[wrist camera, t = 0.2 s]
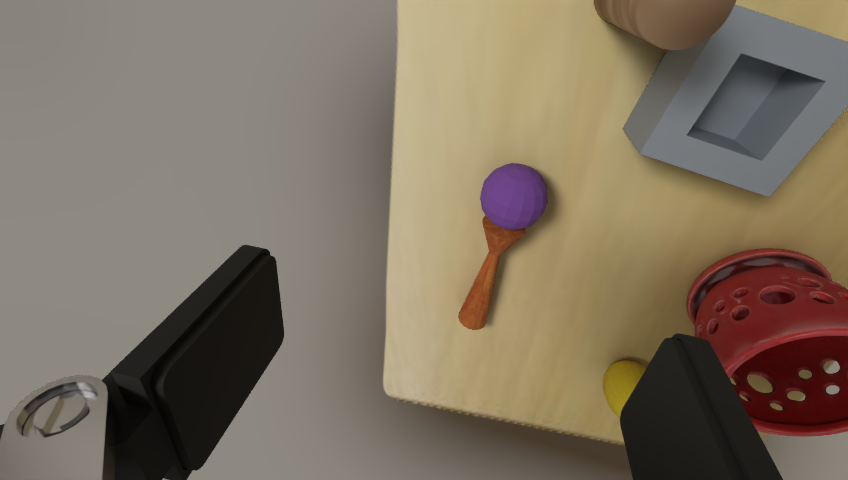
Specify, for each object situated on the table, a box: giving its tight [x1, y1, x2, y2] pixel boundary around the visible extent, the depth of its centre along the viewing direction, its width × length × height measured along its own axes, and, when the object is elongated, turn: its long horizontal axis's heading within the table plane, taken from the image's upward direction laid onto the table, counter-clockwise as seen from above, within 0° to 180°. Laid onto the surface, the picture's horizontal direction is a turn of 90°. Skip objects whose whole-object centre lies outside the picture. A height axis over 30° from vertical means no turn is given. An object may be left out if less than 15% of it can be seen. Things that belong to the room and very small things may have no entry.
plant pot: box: [687, 249, 848, 436], centre depth 36 cm, size 13×13×12 cm
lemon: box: [603, 360, 646, 418], centre depth 46 cm, size 6×6×8 cm
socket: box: [623, 5, 848, 197], centre depth 30 cm, size 10×10×6 cm
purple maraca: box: [458, 163, 548, 330], centre depth 42 cm, size 6×6×20 cm
